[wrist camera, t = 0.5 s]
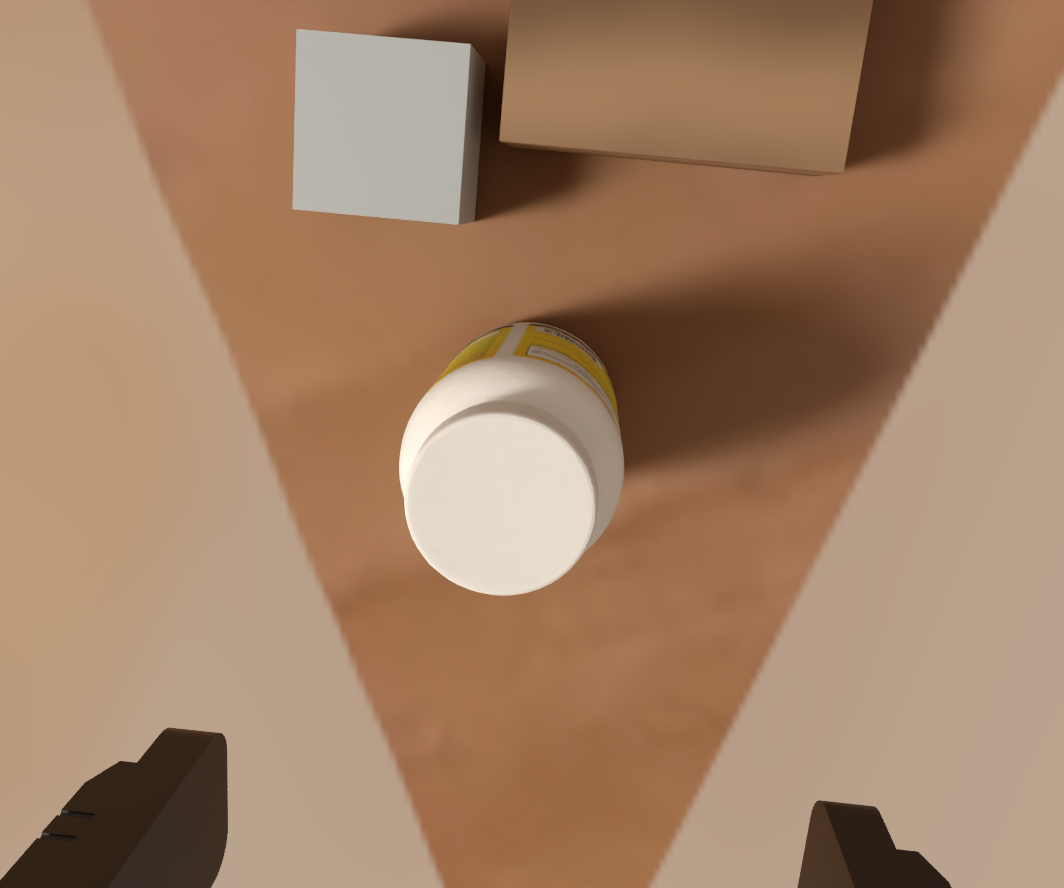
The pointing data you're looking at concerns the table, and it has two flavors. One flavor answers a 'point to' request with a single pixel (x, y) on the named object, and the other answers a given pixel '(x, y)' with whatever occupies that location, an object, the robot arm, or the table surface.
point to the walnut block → (687, 80)
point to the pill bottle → (513, 460)
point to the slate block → (387, 126)
